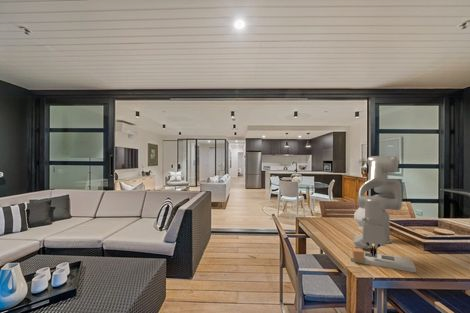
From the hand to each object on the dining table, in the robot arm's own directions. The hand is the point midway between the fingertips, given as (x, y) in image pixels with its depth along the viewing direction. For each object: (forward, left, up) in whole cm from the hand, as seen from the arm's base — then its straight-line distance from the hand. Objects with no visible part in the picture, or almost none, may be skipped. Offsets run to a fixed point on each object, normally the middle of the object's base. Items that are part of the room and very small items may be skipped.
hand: (373, 255), depth 130 cm
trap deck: (-3, +3, -4) cm, 6 cm away
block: (+3, -8, -2) cm, 8 cm away
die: (-21, -6, -4) cm, 22 cm away
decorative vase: (-73, -3, -4) cm, 73 cm away
